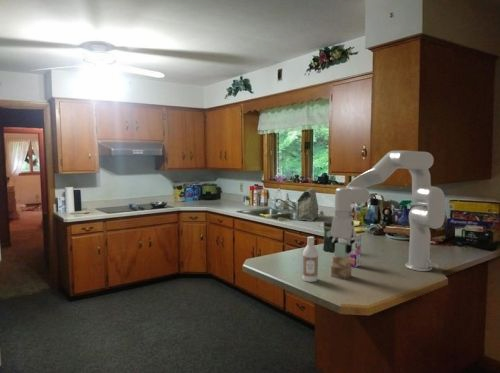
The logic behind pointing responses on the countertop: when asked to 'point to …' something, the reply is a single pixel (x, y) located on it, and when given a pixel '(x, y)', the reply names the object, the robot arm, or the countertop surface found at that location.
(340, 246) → the sage block
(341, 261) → the oak top
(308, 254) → the bath foam
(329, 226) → the coffee jar
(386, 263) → the countertop surface
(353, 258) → the candy bar box
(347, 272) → the walnut base
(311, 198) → the bag
